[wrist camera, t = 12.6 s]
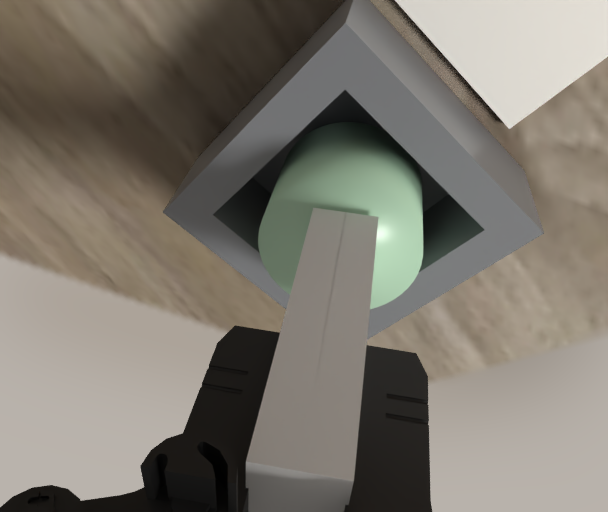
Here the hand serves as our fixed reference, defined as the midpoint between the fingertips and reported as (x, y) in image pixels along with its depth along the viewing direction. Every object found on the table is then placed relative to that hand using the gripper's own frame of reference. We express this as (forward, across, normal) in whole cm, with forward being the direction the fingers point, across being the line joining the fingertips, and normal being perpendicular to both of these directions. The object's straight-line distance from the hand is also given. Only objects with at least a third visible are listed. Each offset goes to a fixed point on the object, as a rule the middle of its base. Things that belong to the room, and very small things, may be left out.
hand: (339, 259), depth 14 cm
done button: (+3, 0, 0) cm, 3 cm away
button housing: (+5, 0, 0) cm, 5 cm away
